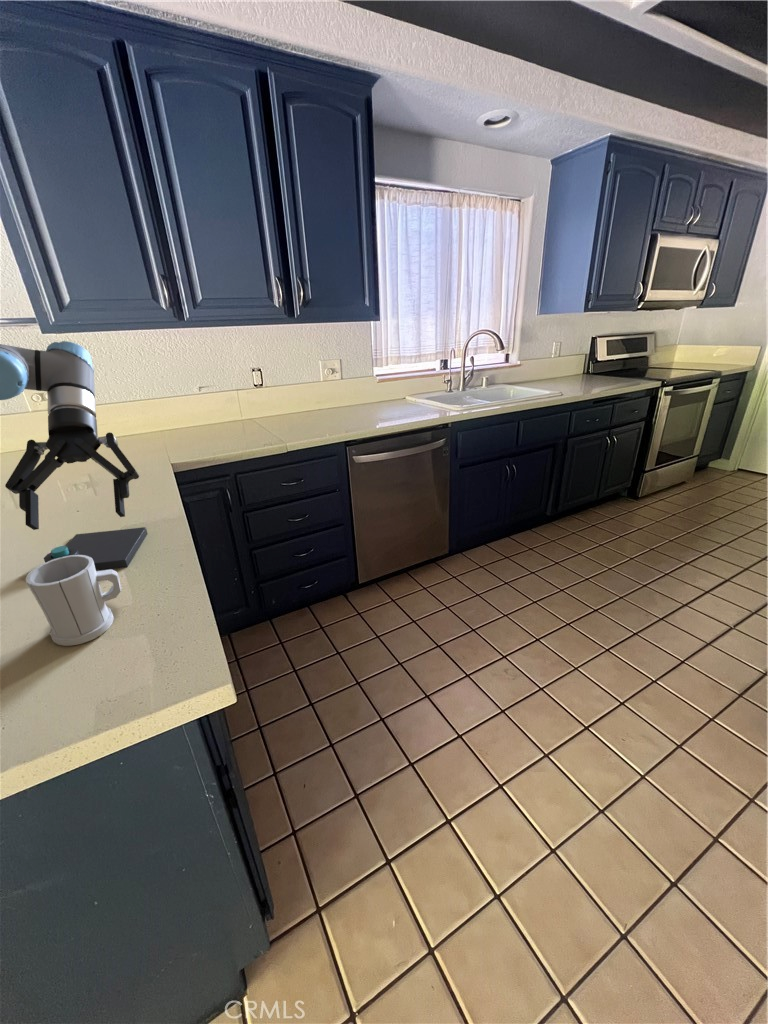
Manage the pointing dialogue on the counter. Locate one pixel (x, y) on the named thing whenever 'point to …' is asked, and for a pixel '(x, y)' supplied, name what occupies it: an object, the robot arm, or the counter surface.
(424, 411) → the counter surface
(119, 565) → the scale
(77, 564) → the cup
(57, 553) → the scale button
